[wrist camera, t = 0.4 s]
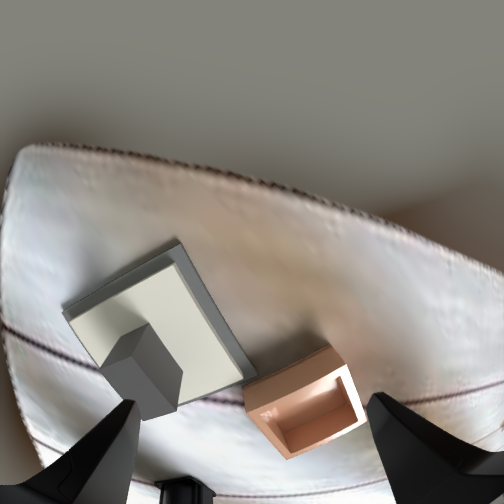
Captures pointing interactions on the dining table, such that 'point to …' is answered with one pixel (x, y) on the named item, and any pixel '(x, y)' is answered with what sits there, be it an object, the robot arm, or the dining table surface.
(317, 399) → the orange open box
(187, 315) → the lid
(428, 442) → the robot arm
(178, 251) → the mat
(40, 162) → the dining table surface
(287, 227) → the dining table surface
